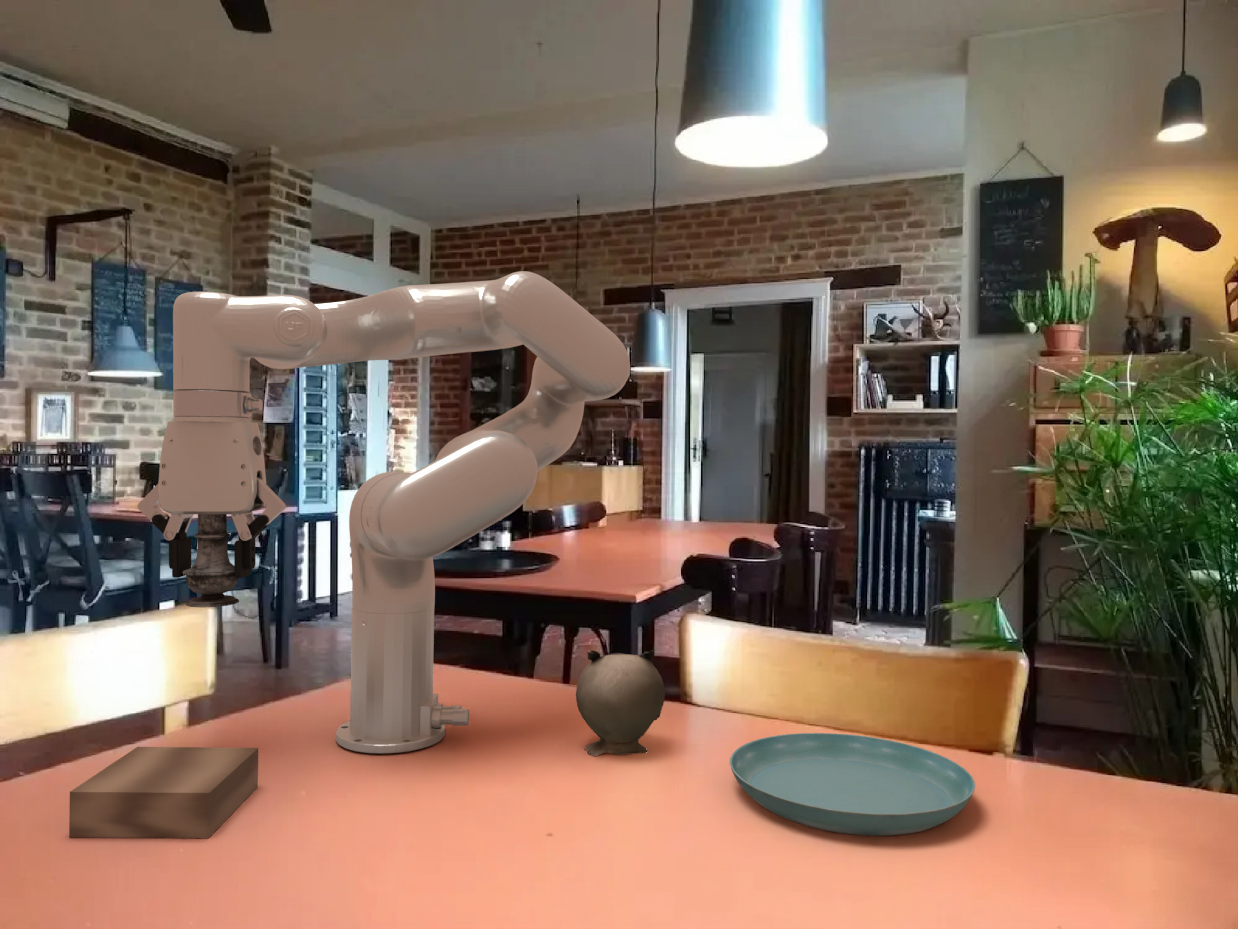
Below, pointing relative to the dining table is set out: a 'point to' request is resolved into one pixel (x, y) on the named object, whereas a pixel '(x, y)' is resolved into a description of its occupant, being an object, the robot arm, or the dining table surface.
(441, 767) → the dining table surface
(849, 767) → the teal plate
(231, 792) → the brown flat wooden block
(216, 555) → the salt shaker
